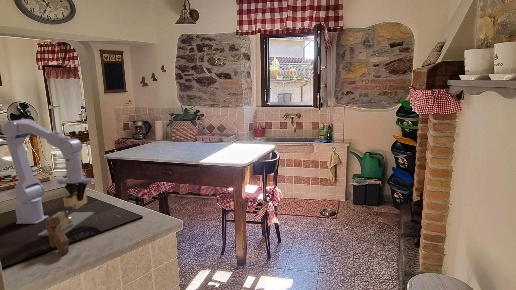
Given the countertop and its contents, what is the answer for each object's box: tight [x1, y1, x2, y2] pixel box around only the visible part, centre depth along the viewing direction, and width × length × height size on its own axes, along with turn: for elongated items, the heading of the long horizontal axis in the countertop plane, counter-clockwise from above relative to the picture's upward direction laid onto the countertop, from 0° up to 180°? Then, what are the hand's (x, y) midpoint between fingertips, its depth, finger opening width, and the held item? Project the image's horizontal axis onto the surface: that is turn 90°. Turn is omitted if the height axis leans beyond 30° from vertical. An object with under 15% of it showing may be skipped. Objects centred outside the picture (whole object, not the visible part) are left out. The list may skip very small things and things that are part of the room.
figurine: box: [44, 215, 70, 256], centre depth 123 cm, size 13×2×15 cm
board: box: [37, 211, 95, 237], centre depth 148 cm, size 24×10×1 cm, turn 176°
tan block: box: [63, 189, 88, 210], centre depth 144 cm, size 12×4×6 cm, turn 176°
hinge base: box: [52, 210, 72, 229], centre depth 143 cm, size 11×3×6 cm, turn 176°
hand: (78, 200), depth 146 cm, fingers closed on tan block, 2 cm apart
